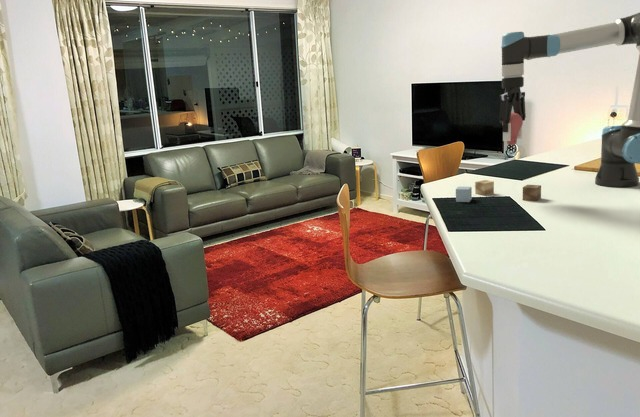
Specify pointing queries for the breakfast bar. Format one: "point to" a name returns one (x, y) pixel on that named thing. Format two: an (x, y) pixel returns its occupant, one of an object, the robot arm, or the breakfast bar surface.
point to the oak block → (484, 187)
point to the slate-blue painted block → (463, 194)
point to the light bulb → (515, 127)
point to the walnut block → (532, 192)
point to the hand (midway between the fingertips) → (512, 139)
